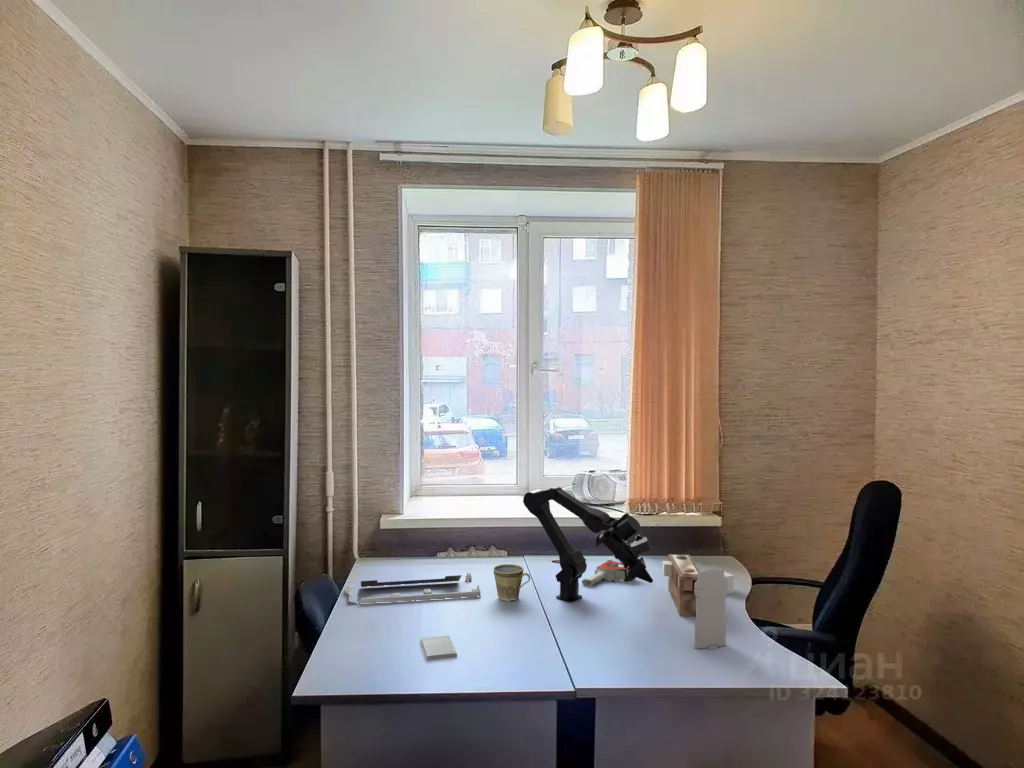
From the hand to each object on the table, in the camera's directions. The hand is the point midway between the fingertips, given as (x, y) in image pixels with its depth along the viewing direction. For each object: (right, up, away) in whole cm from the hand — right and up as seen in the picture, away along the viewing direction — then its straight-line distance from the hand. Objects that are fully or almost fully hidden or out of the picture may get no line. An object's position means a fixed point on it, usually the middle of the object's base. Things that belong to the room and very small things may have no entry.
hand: (652, 581), depth 220 cm
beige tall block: (+11, -10, -28) cm, 31 cm away
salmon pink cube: (+10, -2, -1) cm, 11 cm away
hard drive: (-65, -11, -30) cm, 73 cm away
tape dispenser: (-10, -8, +30) cm, 33 cm away
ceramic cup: (-45, -8, +9) cm, 46 cm away
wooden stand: (+12, -9, +6) cm, 16 cm away
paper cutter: (-79, -8, +15) cm, 81 cm away
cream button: (+9, -1, +13) cm, 16 cm away
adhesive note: (+27, -9, +18) cm, 34 cm away
